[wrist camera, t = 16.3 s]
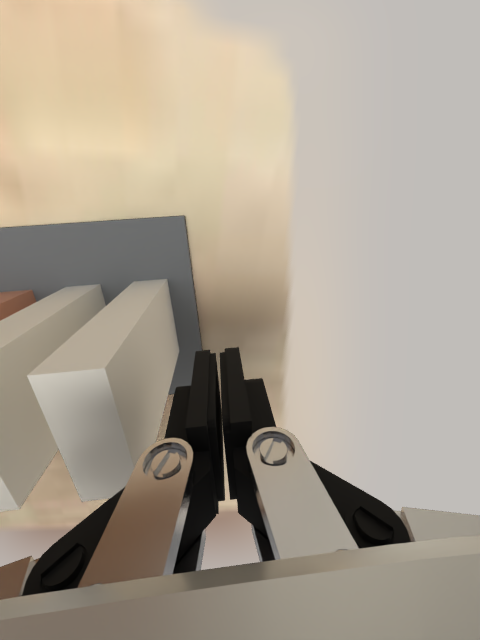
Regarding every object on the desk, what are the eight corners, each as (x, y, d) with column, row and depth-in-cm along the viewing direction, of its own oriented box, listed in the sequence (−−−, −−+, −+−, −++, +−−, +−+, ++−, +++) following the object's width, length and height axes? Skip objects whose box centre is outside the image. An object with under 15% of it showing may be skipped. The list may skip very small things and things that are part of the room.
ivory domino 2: (167, 278, 16) (104, 368, 7) (179, 350, 18) (142, 494, 9) (133, 281, 16) (26, 376, 7) (149, 353, 18) (81, 501, 9)
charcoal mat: (207, 387, 20) (207, 390, 20) (-91, 417, 19) (-97, 421, 19) (184, 215, 15) (183, 215, 15) (-212, 242, 14) (-222, 242, 14)
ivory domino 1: (99, 284, 16) (-54, 383, 7) (119, 356, 18) (19, 509, 9) (65, 286, 16) (-137, 391, 7) (89, 359, 18) (-45, 517, 9)
